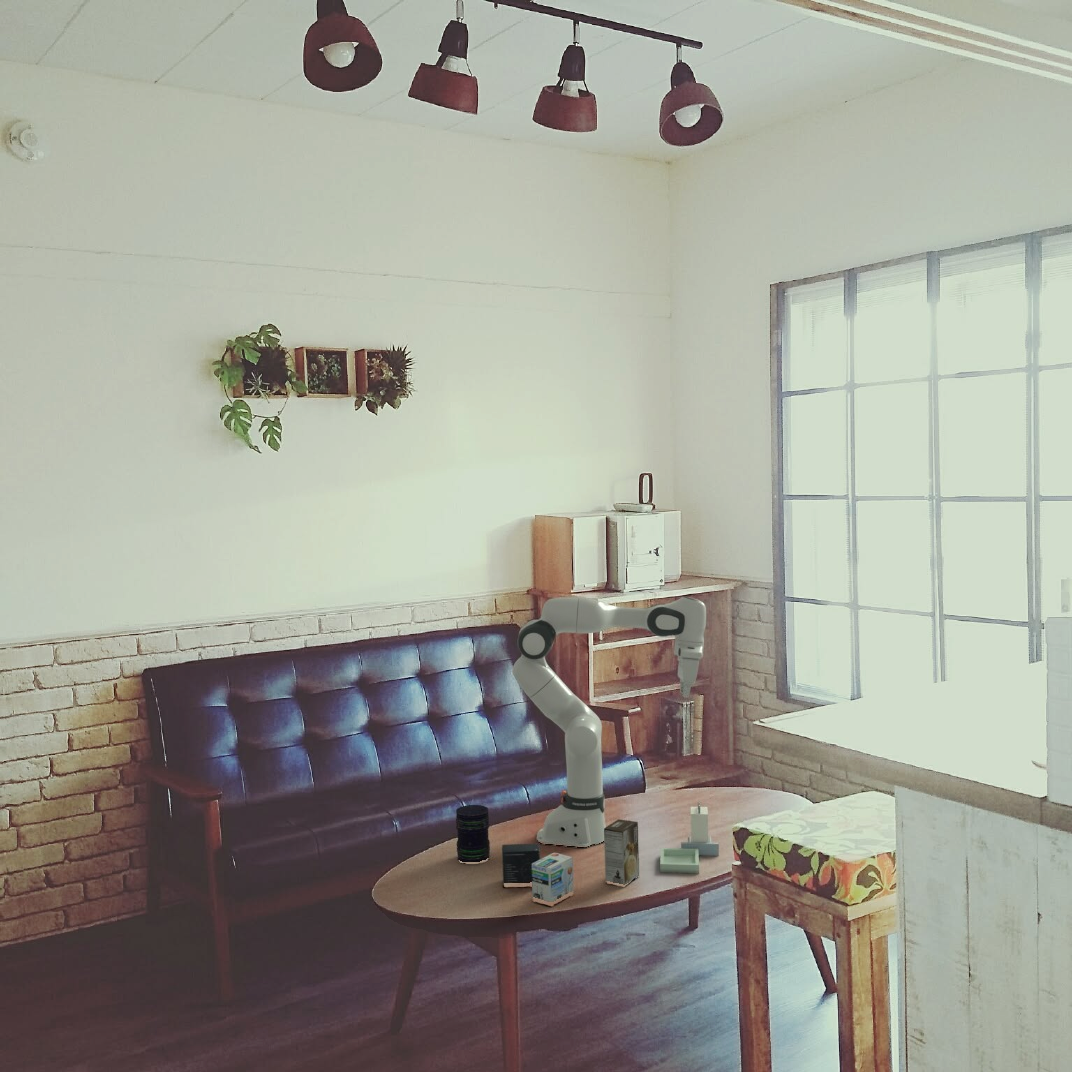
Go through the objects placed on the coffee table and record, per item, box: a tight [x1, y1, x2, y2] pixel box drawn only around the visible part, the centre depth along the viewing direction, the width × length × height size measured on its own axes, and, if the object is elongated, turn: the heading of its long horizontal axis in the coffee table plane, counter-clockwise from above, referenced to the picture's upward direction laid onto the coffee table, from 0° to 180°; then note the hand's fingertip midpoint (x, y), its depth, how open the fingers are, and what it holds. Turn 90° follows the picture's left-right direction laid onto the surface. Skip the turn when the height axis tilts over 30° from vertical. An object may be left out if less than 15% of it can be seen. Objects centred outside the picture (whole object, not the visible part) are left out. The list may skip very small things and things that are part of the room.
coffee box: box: [603, 818, 640, 885], centre depth 315 cm, size 9×6×16 cm
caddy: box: [690, 801, 709, 843], centre depth 338 cm, size 5×7×14 cm
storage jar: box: [455, 804, 491, 862], centre depth 335 cm, size 10×10×15 cm
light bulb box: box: [531, 852, 574, 902], centre depth 304 cm, size 11×7×11 cm, turn 143°
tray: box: [659, 847, 700, 874], centre depth 327 cm, size 11×13×2 cm
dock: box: [680, 834, 720, 857], centre depth 338 cm, size 11×8×4 cm
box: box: [501, 842, 541, 884], centre depth 315 cm, size 11×7×10 cm, turn 91°
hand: (684, 695), depth 344 cm, fingers open, 8 cm apart
